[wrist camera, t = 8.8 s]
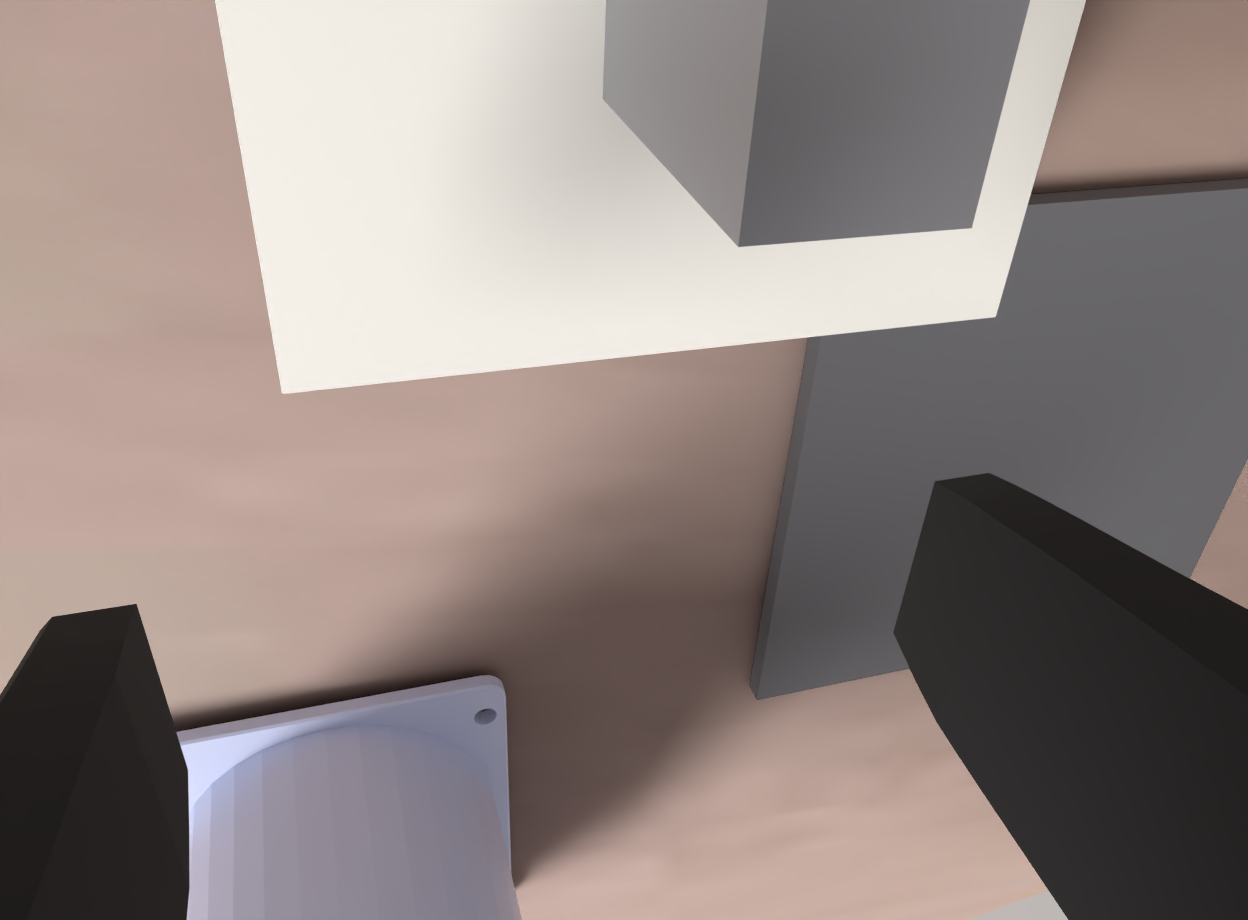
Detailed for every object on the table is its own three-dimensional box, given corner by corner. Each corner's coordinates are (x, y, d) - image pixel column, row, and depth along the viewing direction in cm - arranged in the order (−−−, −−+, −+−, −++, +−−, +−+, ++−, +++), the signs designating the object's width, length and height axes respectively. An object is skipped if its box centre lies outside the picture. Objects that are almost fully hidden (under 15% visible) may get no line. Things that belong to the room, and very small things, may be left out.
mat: (1159, 602, 30) (1171, 614, 30) (749, 685, 27) (757, 699, 26) (1364, 169, 23) (1384, 177, 22) (830, 208, 19) (842, 219, 19)
